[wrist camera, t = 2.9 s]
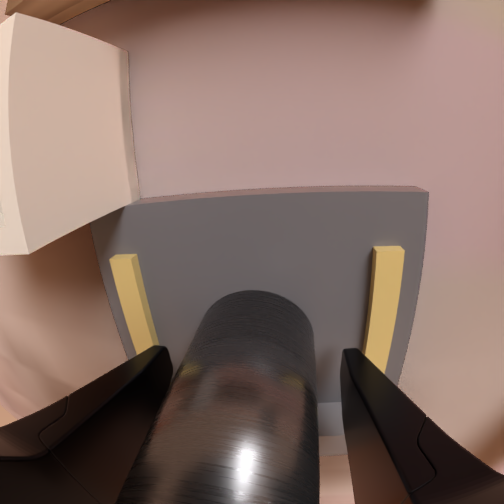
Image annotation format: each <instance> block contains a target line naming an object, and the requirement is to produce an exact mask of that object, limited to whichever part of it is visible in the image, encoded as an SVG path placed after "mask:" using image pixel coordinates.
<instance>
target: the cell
mask: <svg viewBox="0 0 504 504" xmlns="http://www.w3.org/2000/svg"><path fill="white" fill-rule="evenodd" d="M319 487H320V471H319V420H318V394H317V375H316V358H315V343H314V332H313V328H312V325H311V323H310V321H309V319H308V317H307V316H306V314H305V313H304V312H303V311H302V310H301V309H300V308H299V307H298V306H297V305H296V304H294V303H293V302H292V301H290V300H288V299H286V298H285V297H282V296H280V295H278V294H275V293H271V292H267V291H261V290H245V291H239V292H235V293H232V294H228V295H226V296H224V297H222V298H221V299H219V300H218V301H216V302H215V303H214V304H213V305H212V306H211V307H210V308H209V309H208V310H207V312H206V313H205V315H204V317H203V319H202V321H201V323H200V325H199V327H198V329H197V331H196V333H195V335H194V337H193V339H192V341H191V343H190V346H189V348H188V350H187V352H186V354H185V356H184V358H183V360H182V362H181V364H180V366H179V368H178V370H177V372H176V374H175V376H174V378H173V381H172V383H171V385H170V387H169V389H168V391H167V393H166V395H165V397H164V399H163V401H162V403H161V406H160V408H159V410H158V412H157V414H156V416H155V418H154V420H153V422H152V424H151V427H150V429H149V431H148V433H147V435H146V437H145V439H144V441H143V444H142V446H141V448H140V450H139V452H138V454H137V456H136V458H135V461H134V463H133V465H132V467H131V469H130V471H129V474H128V476H127V478H126V480H125V482H124V484H123V487H122V489H121V491H120V493H119V495H118V497H117V500H116V502H115V504H319Z"/></svg>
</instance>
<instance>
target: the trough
mask: <svg viewBox="0 0 504 504" xmlns="http://www.w3.org/2000/svg"><path fill="white" fill-rule="evenodd" d="M108 1H110V0H8V2H7V7H6V12H5V15H9V16H12V15H13V14H14V13H20V14H24V15H28V16H31V17H35V18H38V19H42V20H45V21H48V22H51V23H54V24H57V25H60V24H62V23H64V22H65V21H67V20H69V19H71V18H73V17H75V16H77V15H79V14H81V13H83V12H85V11H88V10H90V9H92V8H94V7H96V6H99V5H101V4H103V3H105V2H108Z"/></svg>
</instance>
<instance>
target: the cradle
mask: <svg viewBox="0 0 504 504" xmlns="http://www.w3.org/2000/svg"><path fill="white" fill-rule="evenodd" d="M428 199H429V192H427V191H425V190H423V189H421V188H418V187H416V186H316V187H287V188H266V189H248V190H233V191H219V192H206V193H194V194H183V195H173V196H163V197H153V198H144V199H139V200H137V201H135V202H132V203H130V204H128V205H126V206H124V207H121V208H119V209H117V210H115V211H113V212H110V213H108V214H106V215H104V216H102V217H100V218H98V219H96V220H94V221H92V222H90V228H91V233H92V238H93V242H94V247H95V251H96V255H97V259H98V264H99V268H100V271H101V275H102V279H103V283H104V286H105V290H106V294H107V297H108V300H109V304H110V307H111V310H112V314H113V317H114V320H115V323H116V326H117V329H118V332H119V335H120V338H121V341H122V344H123V346H124V349H125V352H126V355H127V357H128V360H130V359H131V358H133V357H135V356H136V355H138V354H140V353H141V352H143V351H145V350H146V349H148V348H150V347H151V346H153V345H160V346H166V347H167V348H168V351H169V354H170V358H171V361H172V365H173V375H172V379H171V383H172V381H173V378H174V376H175V374H176V372H177V370H178V368H179V366H180V364H181V362H182V360H183V358H184V356H185V354H186V352H187V350H188V348H189V346H190V343H191V341H192V339H193V337H194V335H195V333H196V331H197V329H198V327H199V325H200V323H201V321H202V319H203V317H204V315H205V313H206V312H207V310H208V309H209V308H210V307H211V306H212V305H213V304H214V303H215V302H216V301H218V300H219V299H221V298H222V297H224V296H226V295H228V294H232V293H235V292H239V291H245V290H261V291H267V292H271V293H275V294H278V295H280V296H282V297H285V298H286V299H288V300H290V301H292V302H293V303H294V304H296V305H297V306H298V307H299V308H300V309H301V310H302V311H303V312H304V313H305V314H306V316H307V317H308V319H309V321H310V323H311V325H312V328H313V332H314V343H315V358H316V375H317V394H318V420H319V456H336V455H348V452H347V446H346V440H345V434H344V429H343V422H342V405H341V386H340V367H341V358H342V351H343V349H345V348H358V349H359V350H360V351H361V352H362V353H363V354H364V355H365V356H366V357H367V358H368V359H369V360H370V361H371V362H372V363H373V364H374V365H375V366H376V367H378V368H379V369H380V370H381V371H382V372H383V373H384V374H385V375H386V376H387V377H388V378H389V379H390V380H391V381H392V382H393V383H394V384H395V385H396V386H397V385H398V381H399V378H400V374H401V371H402V367H403V363H404V360H405V356H406V352H407V348H408V343H409V339H410V335H411V330H412V325H413V321H414V316H415V310H416V305H417V299H418V294H419V288H420V281H421V274H422V267H423V259H424V251H425V241H426V230H427V217H428ZM171 383H170V385H171Z"/></svg>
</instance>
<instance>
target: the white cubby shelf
mask: <svg viewBox="0 0 504 504" xmlns="http://www.w3.org/2000/svg"><path fill="white" fill-rule="evenodd" d="M139 199H140V192H139V185H138V177H137V169H136V161H135V152H134V143H133V132H132V121H131V108H130V92H129V69H128V51H125V50H123V49H121V48H118V47H116V46H114V45H111V44H109V43H106V42H104V41H101V40H99V39H96V38H94V37H91V36H89V35H86V34H83V33H80V32H78V31H75V30H72V29H69V28H66V27H63V26H60V25H57V24H54V23H51V22H48V21H45V20H42V19H38V18H35V17H31V16H28V15H24V14H20V13H14V14H13V15H12V16H10V17H9V18H8V19H7V20H5V21H4V22H3V23H1V24H0V256H2V255H23V254H30V253H32V252H34V251H36V250H38V249H39V248H41V247H43V246H45V245H47V244H49V243H51V242H52V241H54V240H56V239H58V238H60V237H62V236H64V235H66V234H68V233H70V232H72V231H74V230H76V229H77V228H79V227H81V226H84V225H86V224H88V223H90V222H92V221H94V220H96V219H98V218H100V217H102V216H104V215H106V214H108V213H110V212H113V211H115V210H117V209H119V208H121V207H124V206H126V205H128V204H130V203H132V202H135V201H137V200H139Z"/></svg>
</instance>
